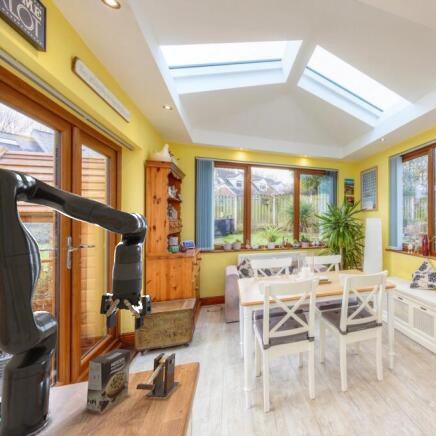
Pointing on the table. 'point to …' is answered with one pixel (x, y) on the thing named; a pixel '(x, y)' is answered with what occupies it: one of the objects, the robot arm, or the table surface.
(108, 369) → the coffee box
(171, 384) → the switch bracket
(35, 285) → the robot arm
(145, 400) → the table surface
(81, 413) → the table surface
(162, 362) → the switch lever
